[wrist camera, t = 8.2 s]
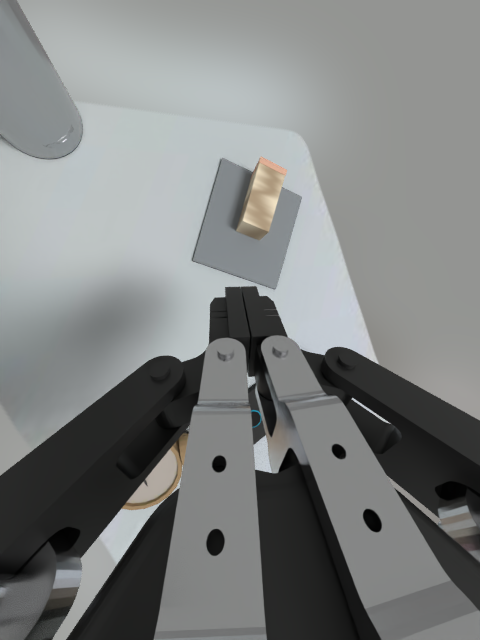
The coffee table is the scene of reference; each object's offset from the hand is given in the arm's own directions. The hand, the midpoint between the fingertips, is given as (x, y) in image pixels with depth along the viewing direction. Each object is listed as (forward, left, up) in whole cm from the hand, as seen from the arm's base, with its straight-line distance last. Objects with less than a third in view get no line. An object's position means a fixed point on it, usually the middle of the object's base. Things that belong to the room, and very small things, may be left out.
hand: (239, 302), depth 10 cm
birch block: (-3, +13, -20) cm, 24 cm away
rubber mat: (-4, +14, -22) cm, 26 cm away
